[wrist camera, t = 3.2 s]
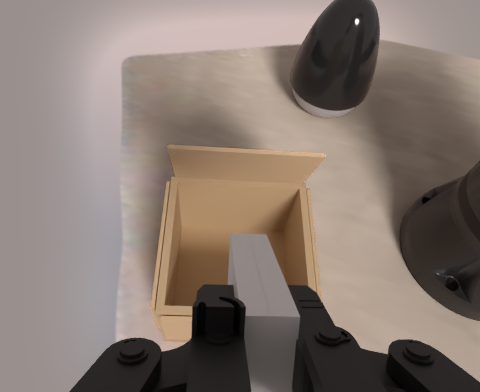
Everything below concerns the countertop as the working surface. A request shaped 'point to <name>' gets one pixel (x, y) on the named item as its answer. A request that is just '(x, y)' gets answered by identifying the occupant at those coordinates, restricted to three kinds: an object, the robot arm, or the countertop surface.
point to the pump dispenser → (337, 59)
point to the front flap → (243, 164)
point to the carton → (225, 240)
